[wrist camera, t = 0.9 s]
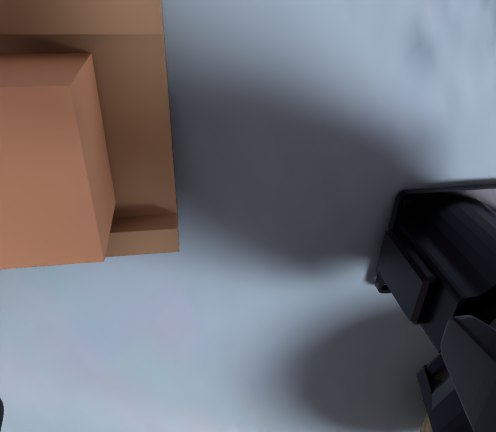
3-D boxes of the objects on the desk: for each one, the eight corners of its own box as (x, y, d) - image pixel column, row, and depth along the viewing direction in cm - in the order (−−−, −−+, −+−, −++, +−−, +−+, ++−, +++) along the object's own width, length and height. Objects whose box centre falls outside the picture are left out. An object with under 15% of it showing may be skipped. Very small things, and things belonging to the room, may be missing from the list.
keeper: (91, 53, 15) (69, 85, 12) (115, 202, 18) (104, 261, 15) (-67, 54, 14) (-138, 89, 11) (-12, 209, 17) (-55, 273, 14)
